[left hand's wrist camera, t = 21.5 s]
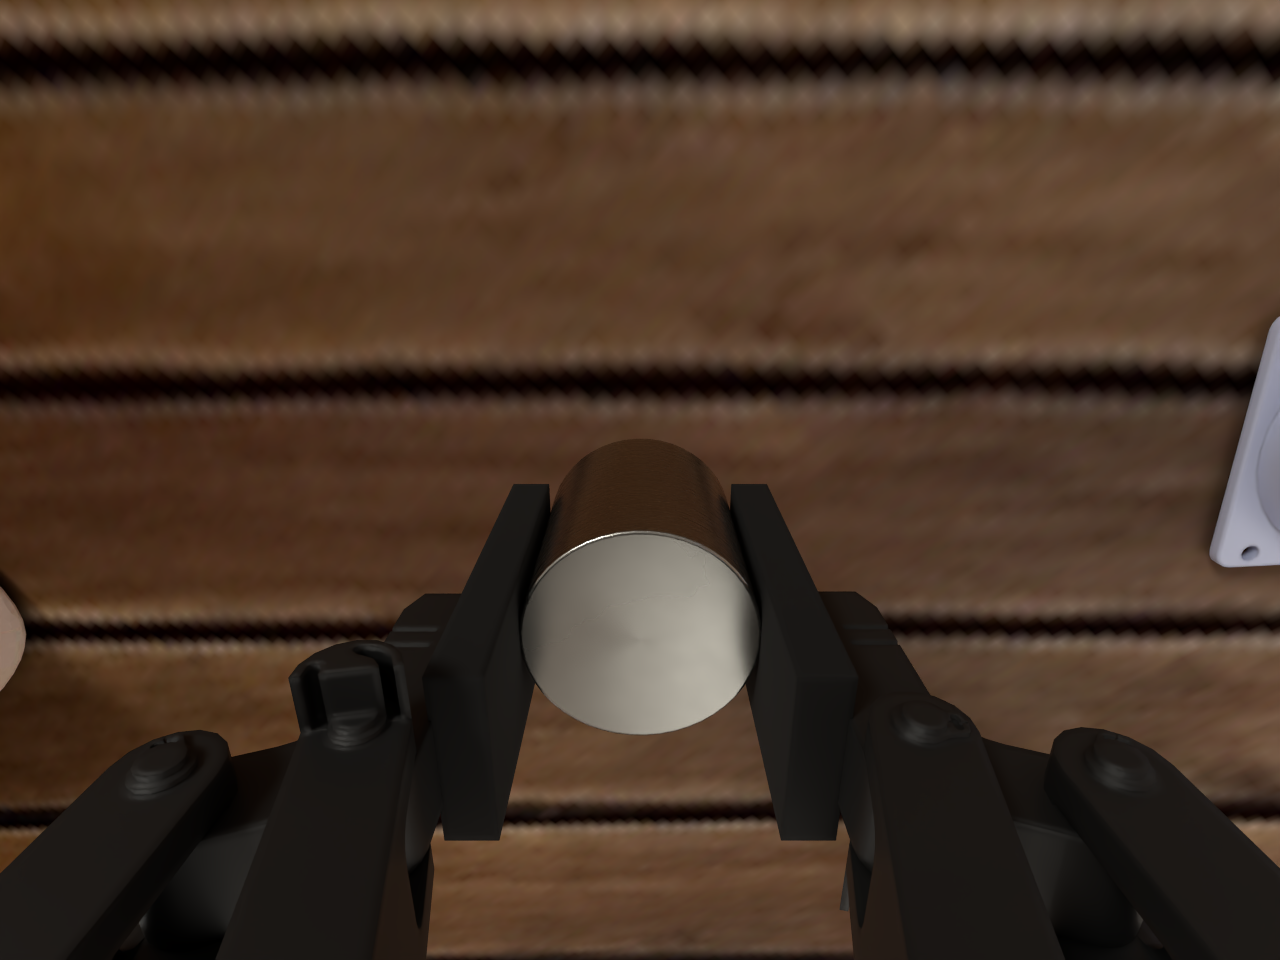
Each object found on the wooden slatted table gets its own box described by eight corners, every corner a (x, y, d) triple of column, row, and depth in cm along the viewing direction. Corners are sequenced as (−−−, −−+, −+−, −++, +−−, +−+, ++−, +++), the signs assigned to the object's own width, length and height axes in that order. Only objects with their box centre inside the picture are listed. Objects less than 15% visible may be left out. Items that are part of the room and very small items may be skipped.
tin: (701, 415, 14) (727, 500, 10) (747, 572, 15) (787, 704, 11) (526, 468, 15) (480, 571, 10) (586, 616, 16) (567, 759, 12)
